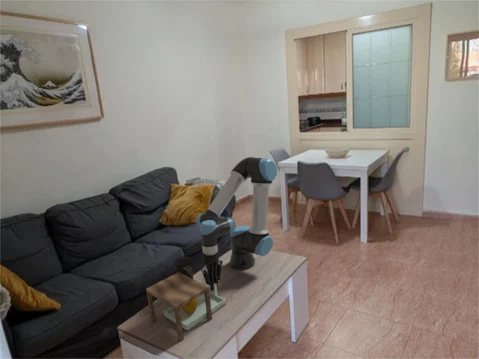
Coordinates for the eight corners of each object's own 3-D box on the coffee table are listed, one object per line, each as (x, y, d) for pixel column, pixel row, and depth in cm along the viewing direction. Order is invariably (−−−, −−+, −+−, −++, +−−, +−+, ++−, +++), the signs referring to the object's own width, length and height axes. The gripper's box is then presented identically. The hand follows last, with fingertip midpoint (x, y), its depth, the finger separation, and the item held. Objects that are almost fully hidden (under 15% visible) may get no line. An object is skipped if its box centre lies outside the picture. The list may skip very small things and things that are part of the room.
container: (195, 297, 169) (191, 262, 165) (177, 299, 169) (172, 263, 164) (196, 288, 178) (192, 254, 173) (179, 290, 177) (174, 255, 173)
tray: (202, 292, 173) (202, 288, 173) (225, 304, 162) (225, 299, 161) (164, 316, 156) (163, 311, 156) (187, 330, 145) (186, 325, 144)
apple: (177, 311, 157) (175, 295, 155) (192, 303, 163) (190, 287, 161) (187, 319, 151) (185, 302, 149) (202, 311, 157) (200, 294, 154)
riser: (182, 301, 167) (178, 272, 163) (212, 319, 152) (208, 286, 148) (151, 320, 154) (146, 288, 150) (180, 341, 139) (176, 306, 136)
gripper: (214, 245, 169) (218, 286, 175) (195, 255, 160) (200, 298, 166) (225, 249, 164) (229, 291, 170) (205, 259, 155) (210, 304, 161)
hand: (214, 295), depth 168 cm, fingers closed
